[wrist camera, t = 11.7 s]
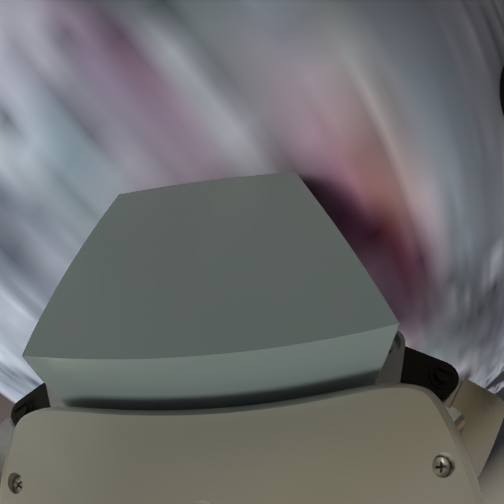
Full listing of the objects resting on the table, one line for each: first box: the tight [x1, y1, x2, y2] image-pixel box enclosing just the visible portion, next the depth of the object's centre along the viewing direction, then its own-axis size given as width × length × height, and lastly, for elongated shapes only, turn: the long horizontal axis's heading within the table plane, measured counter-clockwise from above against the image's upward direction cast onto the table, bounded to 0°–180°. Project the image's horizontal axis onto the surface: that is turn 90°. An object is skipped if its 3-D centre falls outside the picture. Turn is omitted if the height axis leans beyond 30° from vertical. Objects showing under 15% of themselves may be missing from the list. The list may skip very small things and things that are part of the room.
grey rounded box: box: [22, 172, 400, 410], centre depth 11 cm, size 8×8×9 cm
